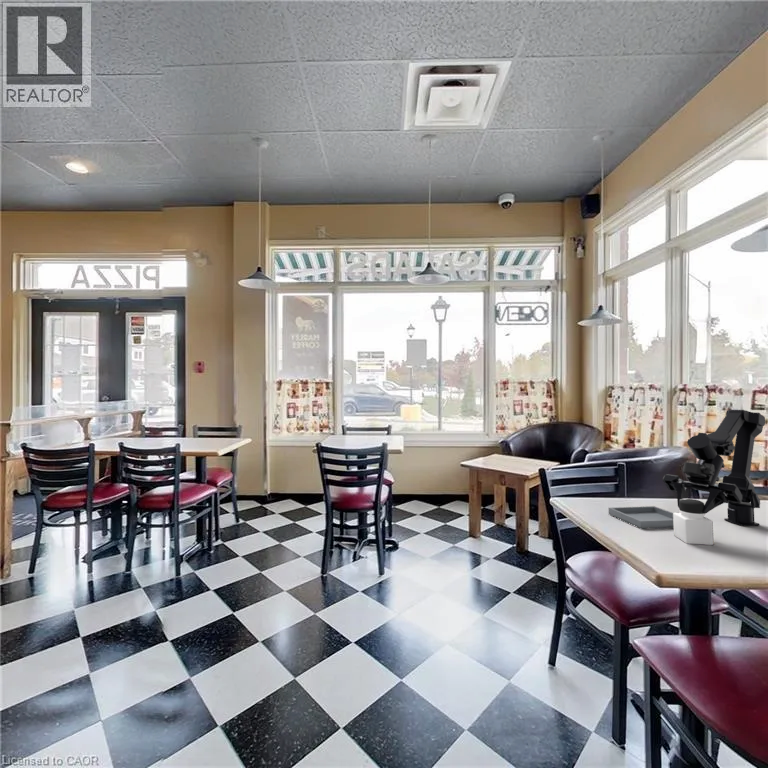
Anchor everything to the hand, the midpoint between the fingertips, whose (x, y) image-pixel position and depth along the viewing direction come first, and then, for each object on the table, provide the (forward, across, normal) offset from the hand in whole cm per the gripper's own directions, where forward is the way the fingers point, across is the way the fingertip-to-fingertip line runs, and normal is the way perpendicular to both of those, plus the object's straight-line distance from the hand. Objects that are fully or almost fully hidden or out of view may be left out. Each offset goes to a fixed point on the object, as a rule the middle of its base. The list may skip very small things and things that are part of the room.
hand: (691, 509), depth 116 cm
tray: (0, -17, +13) cm, 21 cm away
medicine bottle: (+6, 0, +7) cm, 9 cm away
